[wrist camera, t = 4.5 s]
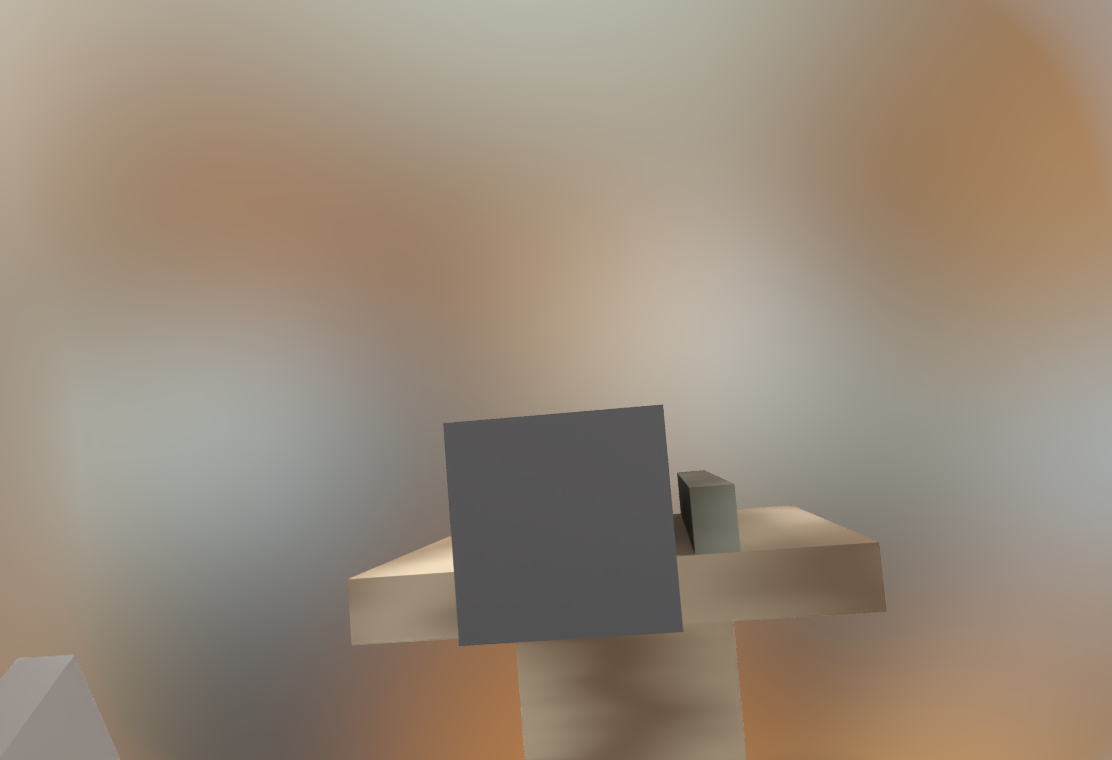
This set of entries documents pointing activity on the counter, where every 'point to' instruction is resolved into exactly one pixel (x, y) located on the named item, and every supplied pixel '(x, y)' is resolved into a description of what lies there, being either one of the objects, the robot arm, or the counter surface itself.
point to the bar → (562, 526)
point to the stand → (652, 659)
